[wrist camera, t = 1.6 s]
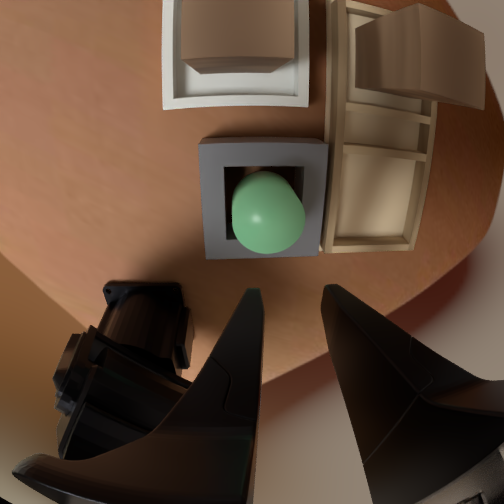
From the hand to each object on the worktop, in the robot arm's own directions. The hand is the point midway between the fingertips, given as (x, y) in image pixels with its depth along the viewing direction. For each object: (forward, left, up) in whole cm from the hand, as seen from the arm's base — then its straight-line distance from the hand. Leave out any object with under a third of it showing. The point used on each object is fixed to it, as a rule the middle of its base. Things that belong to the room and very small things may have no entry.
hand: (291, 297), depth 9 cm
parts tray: (-2, +9, -11) cm, 15 cm away
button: (0, 0, -9) cm, 9 cm away
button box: (0, 0, -11) cm, 11 cm away
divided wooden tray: (+7, +4, -11) cm, 14 cm away
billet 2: (+7, +9, -10) cm, 15 cm away
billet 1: (-2, +9, -11) cm, 14 cm away
